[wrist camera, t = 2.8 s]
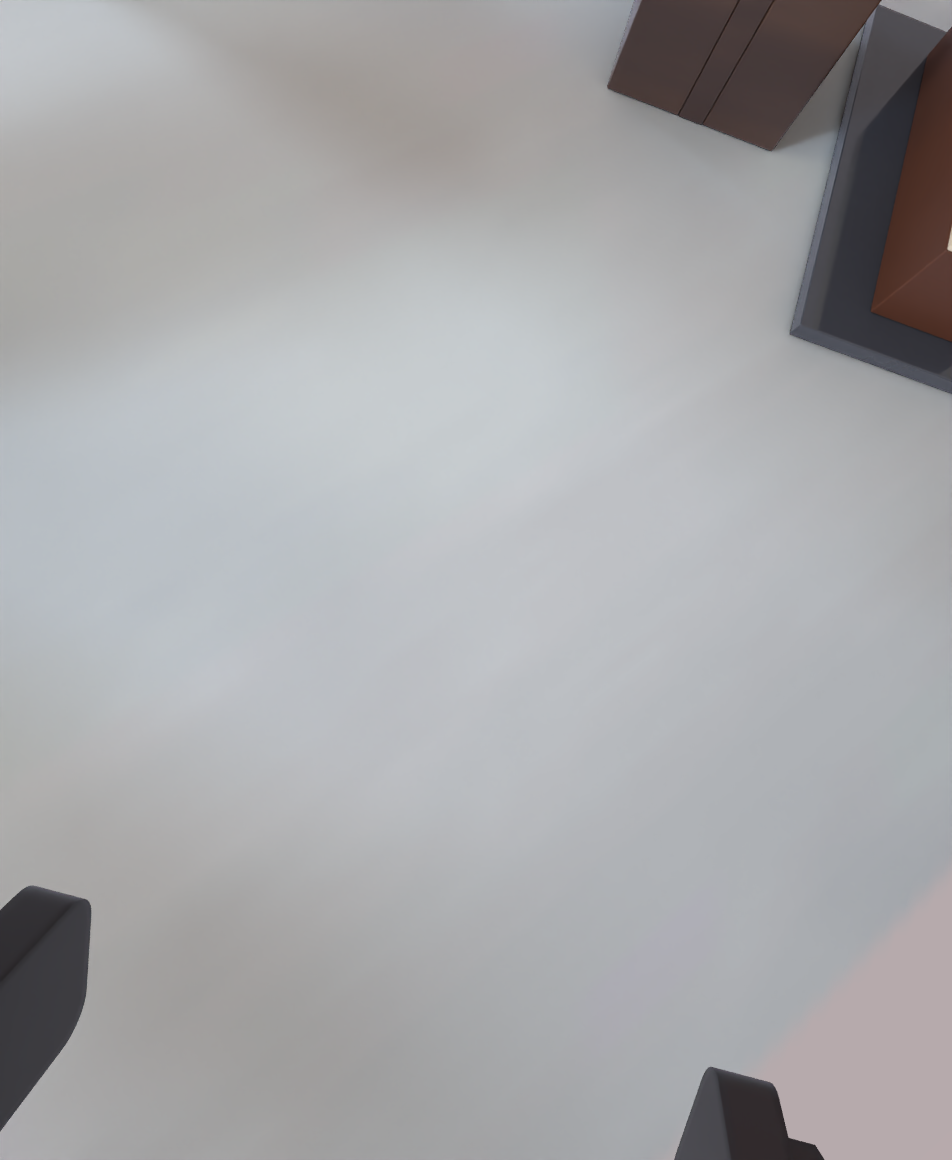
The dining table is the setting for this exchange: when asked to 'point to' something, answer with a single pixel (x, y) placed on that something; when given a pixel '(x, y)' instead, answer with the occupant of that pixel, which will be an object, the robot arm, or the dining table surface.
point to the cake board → (870, 209)
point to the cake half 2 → (923, 212)
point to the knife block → (734, 59)
